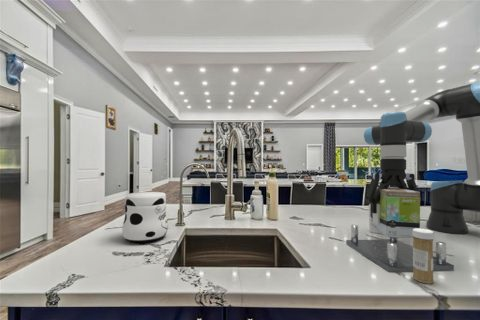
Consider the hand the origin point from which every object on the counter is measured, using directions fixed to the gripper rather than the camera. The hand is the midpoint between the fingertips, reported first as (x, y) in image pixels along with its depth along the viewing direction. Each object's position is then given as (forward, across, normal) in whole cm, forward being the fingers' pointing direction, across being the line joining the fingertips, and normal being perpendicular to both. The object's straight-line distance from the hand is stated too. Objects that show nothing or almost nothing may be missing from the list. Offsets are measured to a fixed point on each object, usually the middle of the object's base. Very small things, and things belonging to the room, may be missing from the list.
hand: (392, 222), depth 82 cm
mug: (+11, -14, -27) cm, 32 cm away
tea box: (+3, 0, 0) cm, 3 cm away
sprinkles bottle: (+11, +4, +17) cm, 21 cm away
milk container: (+11, +89, -23) cm, 93 cm away
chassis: (+11, 0, 0) cm, 11 cm away
